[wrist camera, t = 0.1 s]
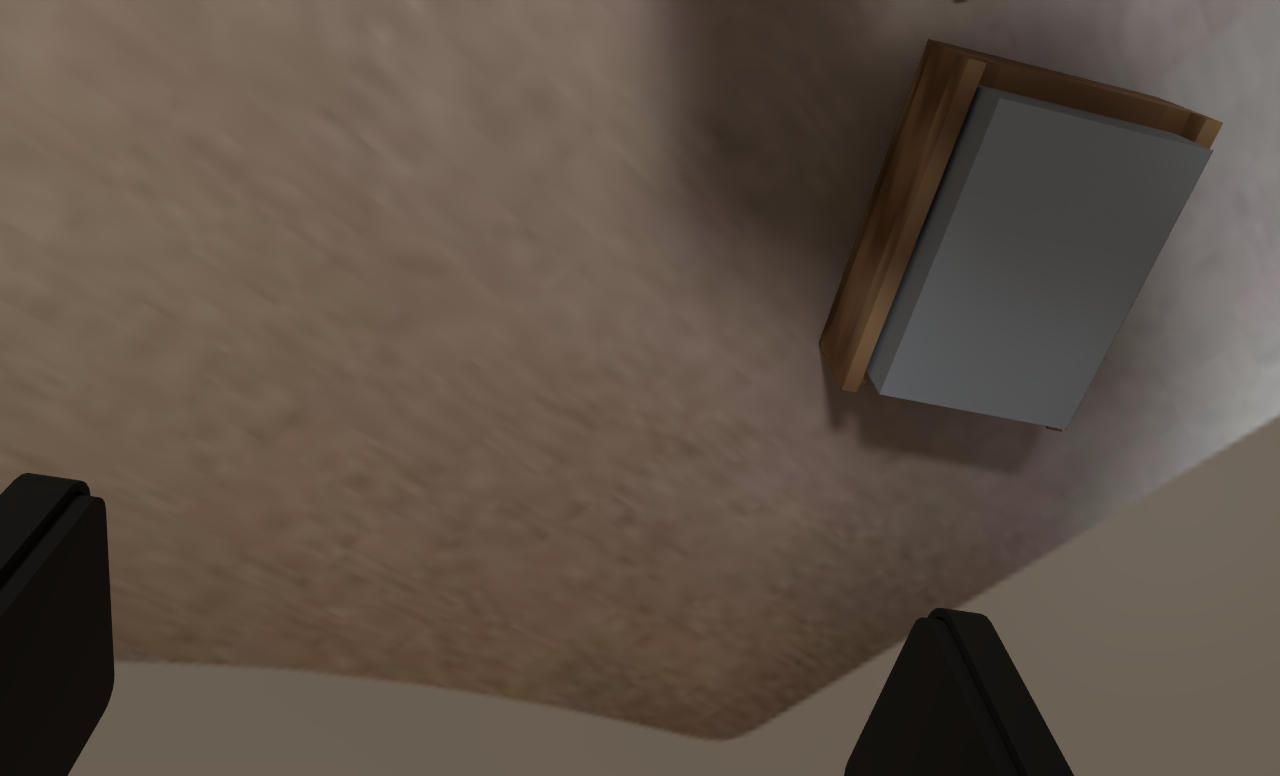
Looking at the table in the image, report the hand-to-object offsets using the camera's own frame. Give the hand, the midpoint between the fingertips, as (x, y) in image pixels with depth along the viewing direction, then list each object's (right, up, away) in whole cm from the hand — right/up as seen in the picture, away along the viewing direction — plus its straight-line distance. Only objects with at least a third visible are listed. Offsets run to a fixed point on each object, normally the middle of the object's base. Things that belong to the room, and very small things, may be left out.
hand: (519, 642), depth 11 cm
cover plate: (+19, +9, +33) cm, 39 cm away
